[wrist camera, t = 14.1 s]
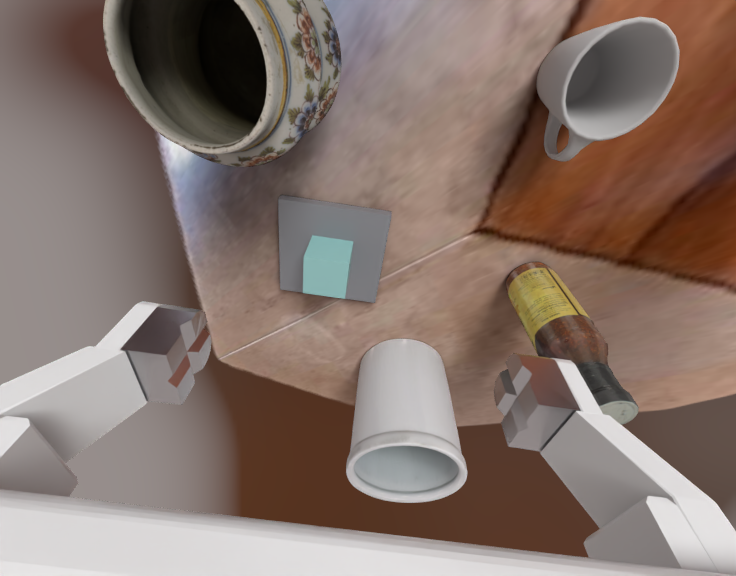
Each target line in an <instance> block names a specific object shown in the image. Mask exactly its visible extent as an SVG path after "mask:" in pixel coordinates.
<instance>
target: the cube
mask: <svg viewBox="0 0 736 576" xmlns="http://www.w3.org/2000/svg"><path fill="white" fill-rule="evenodd" d="M352 249H353V241H348V240H341V239H334V238H327V237H321V236H314V235H312V237H311V240H310V242H309V245H308V247H307V250H306V252H305V255H304V264H303V293H307V294H314V295H321V296H328V297H335V298H342V299H345V296H346V290H347V285H348V279H349V273H350V265H351V257H352Z"/></svg>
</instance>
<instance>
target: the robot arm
mask: <svg viewBox="0 0 736 576" xmlns="http://www.w3.org/2000/svg"><path fill="white" fill-rule="evenodd" d="M206 323H207V318H206V314H205V312H203V311H201V310H196V309H190V308H184V307H178V306H171V305H165V304H157V303H150V302H145V301H143V302H140V303H138V304H136V305H135V306H134V307H133V308H132V309H131V310H130V311H129V312H128V313H127V314H126V315H125V316H124V318H122V320H121V321H120V322H119V323H118V324H117V325H116V326H115V327H114V328H113V329H112V330H111V331H110V332H109V333H108V334H107V335H106V336H105V337H104V338H103V339H102V340H101V341H100V342H99V343H98V344H97V345H96V346H95V347H91V346H88V347H86V348H83V349H81V350H79V351H76V352H74V353H72V354H70V355H67V356H65V357H63V358H61V359H59V360H56V361H54V362H52V363H50V364H47V365H45V366H43V367H40V368H38V369H36V370H34V371H31V372H29V373H27V374H25V375H22V376H20V377H18V378H15V379H13V380H11V381H9V382H7V383H4V384H2V385H0V576H736V531H735V530H734V528H733V527H732V525H731V524H730V522H729V521H728V520H727V518H726V517H725V515H724V514H723V512H722V511H721V509H720V508H719V506H718V505H717V504H716V502H714V501H713V500H712V499H711V498H709V497H708V496H707V495H706V494H705V493H703V492H702V491H701V490H700V489H698V488H697V487H696V486H695V485H693V484H692V483H691V482H690V481H689V480H687V479H686V478H685V477H684V476H683V475H681V474H680V473H679V472H678V471H677V470H675V469H674V468H673V467H672V466H670V465H669V464H668V463H667V462H666V461H664V460H663V459H662V458H661V457H660V456H658V455H657V454H656V453H655V452H653V451H652V450H651V449H650V448H649V447H647V446H646V445H645V444H644V443H642V442H641V441H640V440H639V439H638V438H636V437H635V436H634V435H633V434H631V433H630V432H629V431H628V430H627V429H625V428H624V427H623V426H622V425H621V424H619V423H618V422H617V421H616V420H614V419H613V418H612V417H611V416H610V415H604V414H603V413H602V411H601V409H600V408H599V406H598V404H597V402H596V401H595V399H594V397H593V395H592V393H591V392H590V390H589V388H588V386H587V385H586V383H585V381H584V379H583V378H582V376H581V374H580V372H579V370H578V369H577V367H576V365H575V364H574V363H573V362H572V361H570V360H564V359H556V358H547V357H540V356H532V355H524V354H516V353H513V354H512V355H510V356H509V358H508V359H507V361H506V365H507V368H508V369H507V370H505V371H503V372H501V373H499V375H498V377H497V379H496V381H495V388H494V397H495V402H496V406H497V408H498V409H499V410H500V411H501V412H502V413H503V414H504V415H505V416H504V418H503V420H502V422H501V424H502V427H503V431H504V433H505V437H506V441H507V444H508V446H509V447H515V448H522V449H528V450H534V451H541V452H540V453H541V455H542V456H543V458H544V459H545V460H546V461H547V463H548V464H549V465H550V466H551V467H552V469H553V470H554V471H555V473H556V474H557V475H558V476H559V478H560V479H561V480H562V481H563V482H564V484H565V485H566V486H567V488H568V489H569V490H570V491H571V493H572V494H573V495H574V496H575V498H576V499H577V500H578V501H579V503H580V504H581V505H582V506H583V508H584V509H585V510H586V511H587V513H588V514H589V515H590V516H591V518H592V519H593V520H594V521H595V522H596V524H597V525H598V526H599V528H600V529H599V530H598V531H596V532H595V533H593V534H592V535H590V536H589V537H587V539H586V541H585V542H584V545H585V548H586V551H587V553H588V556H589V558H585V557H576V556H566V555H559V554H550V553H542V552H534V551H525V550H516V549H508V548H500V547H491V546H482V545H474V544H466V543H457V542H448V541H440V540H432V539H423V538H414V537H406V536H397V535H389V534H381V533H372V532H363V531H355V530H347V529H338V528H330V527H321V526H313V525H304V524H295V523H287V522H278V521H270V520H262V519H253V518H244V517H236V516H227V515H218V514H210V513H202V512H193V511H185V510H176V509H168V508H159V507H151V506H141V505H133V504H125V503H116V502H108V501H98V500H91V499H81V498H74V497H69V496H70V494H71V493H72V492H73V490H74V488H75V487H76V486H77V484H78V481H77V477H76V476H75V475H74V473H73V472H72V471H71V470H70V468H69V467H68V466H67V465H66V464H65V463H66V462H67V461H69V460H70V459H71V458H73V457H74V456H76V455H77V454H78V453H80V452H81V451H83V450H84V449H85V448H87V447H88V446H89V445H91V444H92V443H93V442H95V441H96V440H97V439H99V438H100V437H102V436H103V435H104V434H106V433H107V432H108V431H110V430H111V429H113V428H114V427H115V426H117V425H118V424H119V423H121V422H122V421H123V420H125V419H126V418H127V417H129V416H130V415H132V414H133V413H134V412H136V411H137V410H138V409H139V408H141V407H142V406H144V405H145V404H146V403H147V401H151V402H161V403H171V404H181V405H182V404H183V402H184V401H185V399H186V397H187V395H188V394H189V392H190V390H191V388H192V387H193V385H194V383H195V381H194V377H193V374H195V373H196V372H198V371H200V370H201V369H203V367H204V365H205V364H206V362H207V360H208V357H209V353H210V350H211V338H210V334H209V333H208V332H207V331H206V330H205V329H204V326H205V325H206Z"/></svg>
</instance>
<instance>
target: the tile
mask: <svg viewBox="0 0 736 576" xmlns="http://www.w3.org/2000/svg"><path fill="white" fill-rule="evenodd" d="M278 217H279V257H280V289H281V290H288V291H295V292H302V293H303V264H304V255H305V252H306V250H307V247H308V245H309V242H310V240H311V237H312V235H314V236H321V237H327V238H334V239H341V240H348V241H353V249H352V257H351V265H350V273H349V279H348V285H347V290H346V296H345V299H351V300H358V301H365V302H372V303H375V300H376V294H377V289H378V284H379V279H380V273H381V268H382V263H383V257H384V252H385V247H386V242H387V236H388V231H389V226H390V221H391V211H385V210H378V209H372V208H365V207H359V206H352V205H345V204H339V203H332V202H326V201H319V200H312V199H306V198H299V197H293V196H286V195H280V197H279V198H278Z"/></svg>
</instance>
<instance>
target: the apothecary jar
mask: <svg viewBox="0 0 736 576" xmlns="http://www.w3.org/2000/svg"><path fill="white" fill-rule="evenodd" d="M103 31H104V40H105V45H106V50H107V54H108V57H109V60H110V63H111V66H112V68H113V71H114V72H115V75H116V77H117V79H118V81H119V83H120V85H121V87H122V89H123V90H124V92H125V94H126V96H127V97H128V99H129V100H130V102H131V103H132V105H133V106H134V107H135V109H136V110H137V111H138V113H139V114H140V115H141V116H142V117H143V118H144V120H145V121H146V122H147V123H148V124H149V125H150V126H152V127H153V128H154V129H155V130H156V131H157V132H159V133H160V134H161V135H163V136H164V137H166V138H167V139H169V140H170V141H172V142H174V143H176V144H178V145H180V146H182V147H184V148H185V149H187V150H189V151H190V152H192V153H194V154H196V155H198V156H200V157H202V158H204V159H207V160H209V161H212V162H215V163H219V164H223V165H228V166H236V167H251V166H257V165H262V164H266V163H268V162H271V161H273V160H275V159H277V158H279V157H281V156H282V155H284V154H285V153H287V152H288V151H289V150H290V149H292V148H293V147H294V146H295V145H296V144H297V143H298V142H299V141H300V139H301V138H302V137H303V135H304V134H305V133H307V132H309V131H310V130H311V129H313V128H314V127H315V126H316V125H318V124H319V123H320V121H321V120H322V119H323V118H324V117H325V115H326V114H327V112H328V111H329V109H330V108H331V106H332V104H333V102H334V99H335V97H336V94H337V90H338V86H339V81H340V74H341V51H340V44H339V39H338V34H337V31H336V28H335V25H334V22H333V19H332V17H331V15H330V13H329V11H328V9H327V7H326V5H325V3H324V2H323V0H106V2H105V7H104V15H103Z"/></svg>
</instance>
